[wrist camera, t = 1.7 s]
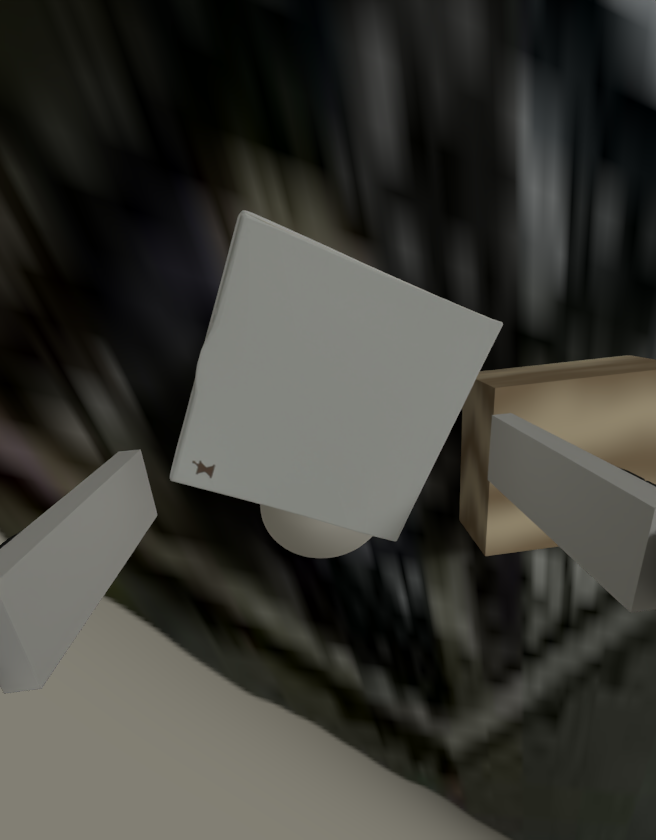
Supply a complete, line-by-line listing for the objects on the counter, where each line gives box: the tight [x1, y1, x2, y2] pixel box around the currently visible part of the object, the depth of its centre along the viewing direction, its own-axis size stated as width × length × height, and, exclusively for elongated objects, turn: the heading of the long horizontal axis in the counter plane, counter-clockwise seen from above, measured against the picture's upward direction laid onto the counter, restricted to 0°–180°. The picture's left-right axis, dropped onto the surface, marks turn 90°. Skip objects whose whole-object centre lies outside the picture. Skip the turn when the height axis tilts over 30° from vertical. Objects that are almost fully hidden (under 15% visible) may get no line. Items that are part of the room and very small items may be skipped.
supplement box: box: [170, 210, 503, 541], centre depth 19 cm, size 9×9×15 cm
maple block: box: [459, 355, 656, 556], centre depth 28 cm, size 13×13×5 cm
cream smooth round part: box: [260, 504, 372, 558], centre depth 29 cm, size 10×10×1 cm
